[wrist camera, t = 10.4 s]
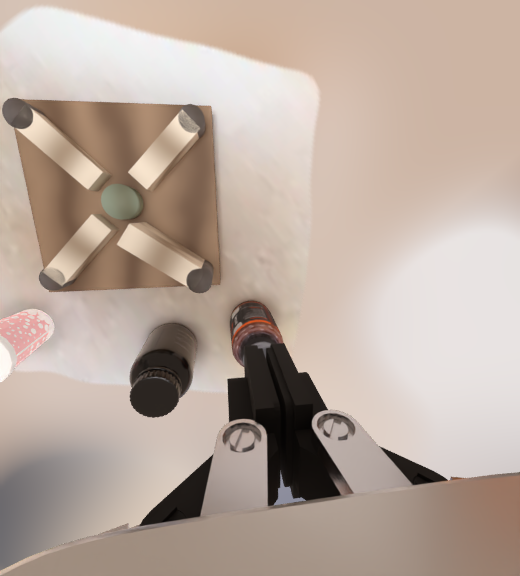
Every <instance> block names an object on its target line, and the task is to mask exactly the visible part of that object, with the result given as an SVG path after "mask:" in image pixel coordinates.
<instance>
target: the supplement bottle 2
mask: <svg viewBox="0 0 520 576" xmlns="http://www.w3.org/2000/svg"><path fill="white" fill-rule="evenodd" d="M230 330H231V341H232V350H233V355H234V357H235V359H236V360H237V362H238V363H239V364H240V365H242V366H243V367H244V346H251V345H257V346H258V348H263V352H264V355H265V358H266V348H270V345H271V344H279V343H283V339H282V336H281V333H280V331H279V329H278V327H277V325H276V323H275V321H274V319H273V317H272V315H271V313H270V311H269V310H268V309H267V308H266V307H265V306H264V305H263V304H261V303H259V302H255V301H248V302H244V303H242V304H240V305H239V306H237V307H236V308H235V310H234V311H233V313H232V315H231V318H230Z"/></svg>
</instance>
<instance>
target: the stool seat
mask: <svg viewBox="0 0 520 576" xmlns="http://www.w3.org/2000/svg"><path fill="white" fill-rule="evenodd" d="M2 112H3V116H4V118H5V120H6V121H7V122H8V123H9V124H10V125H11V126H13V127H14V129H15V134H16V139H17V143H18V148H19V153H20V157H21V162H22V167H23V172H24V176H25V181H26V186H27V190H28V195H29V200H30V204H31V209H32V214H33V219H34V223H35V228H36V233H37V237H38V242H39V247H40V251H41V256H42V261H43V266H44V269H43V270H42V271H41V272H40V275H39V281H40V283H41V285H42V286H43V287H44V288H46V289H48V290H49V292H62V291H84V290H107V289H130V288H153V287H175V286H185V285H183V284H182V283H180V282H178V281H177V280H175V279H173V278H172V277H170V276H168V275H167V274H165V273H163V272H162V271H160V270H158V269H156V268H155V267H153V266H151V265H150V264H148V263H146V262H145V261H143V260H141V259H140V258H138V257H136V256H135V255H133V254H131V253H130V252H128V251H126V250H125V249H123V248H121V247H120V246H118V245H117V243H118V242H119V240H120V238H121V237H122V235H123V233H124V231H125V230H126V228H127V226H128V225H129V224H130V223H141V222H146V223H148V224H149V225H151V226H153V227H154V228H156V229H157V230H159V231H160V232H162V233H164V234H165V235H167V236H168V237H170V238H171V239H173V240H175V241H176V242H178V243H179V244H181V245H182V246H184V247H186V248H187V249H189V250H190V251H192V252H194V253H195V254H197V255H198V256H200V257H201V258H203V259H205V260H207V261H209V262H210V263H211V264H212V265H213V268H214V272H213V279H212V285H220V265H219V246H218V226H217V206H216V186H215V166H214V146H213V126H212V110H211V106H196V105H192V104H188V105H167V104H138V103H110V102H81V101H52V100H24V99H18V98H11V99H8V100H7V101H6V102H5V103H4V105H3V108H2Z"/></svg>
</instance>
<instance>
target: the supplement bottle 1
mask: <svg viewBox="0 0 520 576" xmlns="http://www.w3.org/2000/svg"><path fill="white" fill-rule="evenodd" d="M196 350H197V343H196V339H195V337H194V335H193V334H192V332H191V331H190V330H189V329H187V328H186V327H184V326H182V325H179V324H164V325H161V326H159V327H157V328H156V329H155V330H153V331H152V333H151V334H150V335H149V337H148V338H147V340H146V342H145V344H144V345H143V347H142V349H141V351H140V353H139V354H138V356H137V358H136V360H135V362H134V363H133V365H132V368H131V371H130V383H131V387H132V389H131V391H130V401H131V405H132V406H133V408H134V409H135V410H136V411H137V412H139V413H140V414H143V415H144V416H147V417H153V418H154V417H160V416H164V415H167V414H168V413H170V412H171V411H172V410H173V409H174V408H175V407H176V405H177V403H178V402H179V398H181V397H182V396H183V395H184V394H185V393H186V392H187V391H188V389H189V387H190V385H191V382H192V378H193V371H194V364H195V358H196Z"/></svg>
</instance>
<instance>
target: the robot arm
mask: <svg viewBox="0 0 520 576" xmlns="http://www.w3.org/2000/svg"><path fill="white" fill-rule="evenodd" d="M244 367H245V378H233V379H228V402H229V423H228V424H226V425H225V426H224V427H223V428H222V429H221V430H220V431H219V434H218V436H217V440H216V445H215V450H214V454H213V455H212V456H211V457H210V458H209V459H208V460H206V461H205V462H204V463H203V464H202V465H201V466H200V467H199V468H198V469H196V470H195V471H194V472H193V473H192V474H191V475H190V476H189V477H188V478H187V479H186V480H185V481H183V482H182V483H181V484H180V485H179V486H178V487H177V488H176V489H175V490H173V491H172V492H171V493H170V494H169V495H168V496H167V497H166V498H164V499H163V500H162V501H161V502H160V503H159V504H158V505H157V506H156V507H155V508H153V509H152V510H151V511H150V512H149V514H148V515H147V516H146V517H145V518H144V519H143V521H142V523H141V524H140V525H137V526H135V527H132V528H129V524H125V525H122V526H120V527H117V528H115V529H112V530H109V531H106V532H103V533H101V534H98V535H94V536H89V537H86V538H82V539H78V540H75V541H71V542H68V543H64V544H61V545H58V546H56V547H53V548H50V549H48V550H45V551H43V552H40V553H37V554H35V555H32V556H30V557H27V558H26V559H23V560H21V561H20V562H17V563H16V564H13V565H11V566H9V567H7V568H5V569H3V570H1V571H0V576H520V472H518V473H507V474H495V475H488V476H480V477H474V478H473V477H472V478H458V477H451V479H450V480H449V481H448V480H447V479H446V478H444V477H443V476H441V475H440V474H438V473H436V472H434V471H432V470H430V469H428V468H426V467H423V466H421V465H419V464H416V463H415V462H412V461H410V460H408V459H406V458H404V457H401V456H399V455H397V454H395V453H393V452H391V451H388V450H386V449H384V448H382V447H380V446H378V445H377V444H376V442H375V441H374V440H373V439H372V438H371V437H370V436H369V435H368V433H367V432H366V431H365V430H364V429H363V428H362V426H361V425H360V424H359V423H358V422H357V421H356V420H355V419H354V418H353V417H352V416H350V415H348V414H346V413H344V412H341V411H337V410H328V409H327V407H326V406H325V404H324V402H323V400H322V398H321V396H320V395H319V393H318V391H317V389H316V387H315V385H314V384H313V382H312V380H311V378H310V376H309V374H308V373H307V372H303V373H298V371H297V369H296V367H295V365H294V363H293V361H292V359H291V357H290V355H289V353H288V350H287V348H286V346H285V344H284V343H279V344H271V345H270V348H266V358H265V355H264V352H263V348H258V346H257V345H251V346H244ZM280 470H281V474H282V479H283V483H284V486H285V487H289V486H290V488H291V492H292V496H293V498H300V497H302V498H303V499H305V500H306V501H301V502H294V503H287V504H281V505H274V503H275V502H276V500H277V499H278V488H280ZM273 505H274V506H273Z"/></svg>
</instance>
